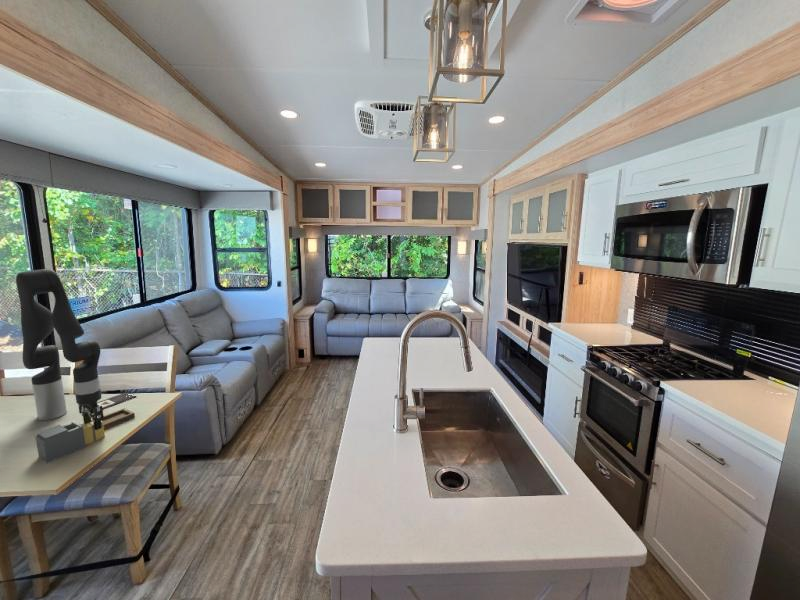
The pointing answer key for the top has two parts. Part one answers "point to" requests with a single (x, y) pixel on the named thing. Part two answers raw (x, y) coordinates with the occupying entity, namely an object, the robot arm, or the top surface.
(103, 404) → the chocolate bar
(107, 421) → the tray
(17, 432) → the top surface
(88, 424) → the grey-banded yellow bar
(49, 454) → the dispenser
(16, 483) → the top surface
